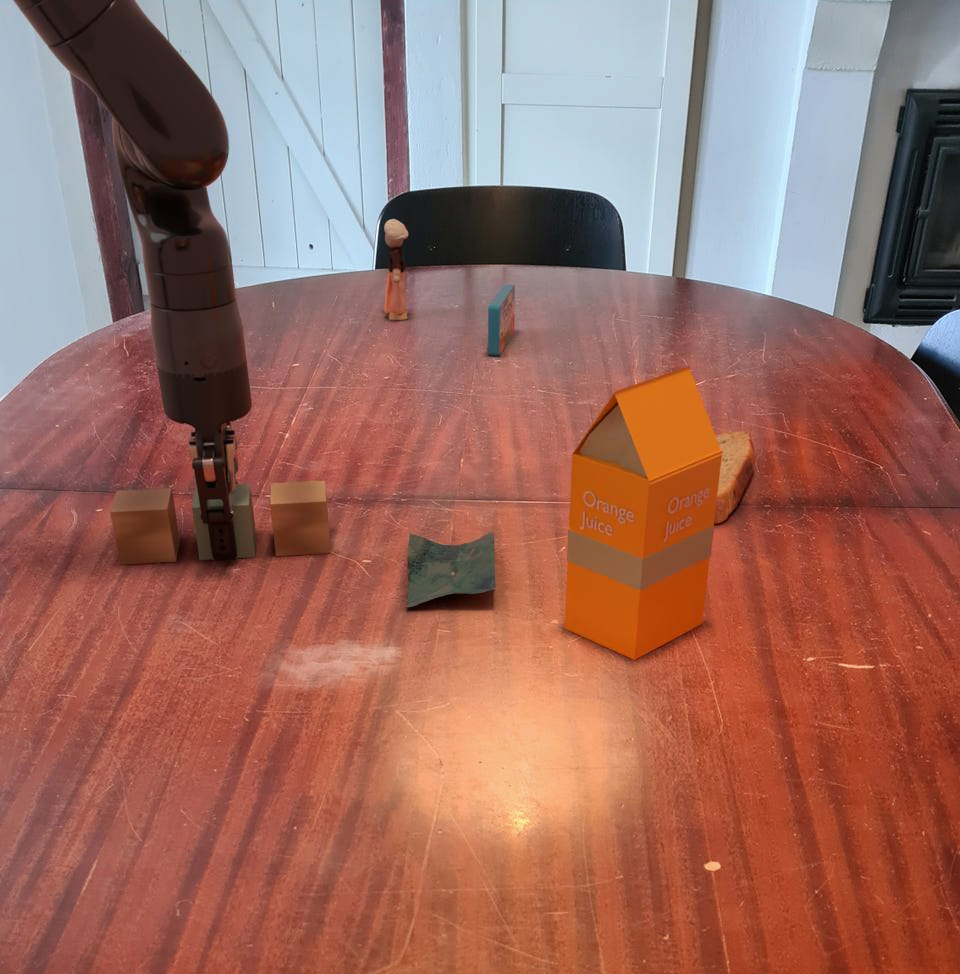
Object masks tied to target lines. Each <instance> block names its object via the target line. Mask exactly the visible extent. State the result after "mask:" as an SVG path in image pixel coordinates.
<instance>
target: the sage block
mask: <svg viewBox="0 0 960 974" xmlns="http://www.w3.org/2000/svg"><path fill="white" fill-rule="evenodd" d="M251 488H252V487H251V484H250V483H240V484H239V483H238V484H236V492H235V493H234V494H232V508H233V511H234V514H235V517H233V523H234V531H235V538H236V546H237V558H236V559H247V558H256V547H257V529H256V522H255V513H254V504H253V497H252V489H251ZM192 498H193V499H192V505H191V512H192V519H193V525H194V532H195V538H196V545H197V551H198V558H199V561H210V560H212V561H213V560H214V559H213V557H212V551H211V544H210V537H209V530H208V524H203V520H201V508H200V502H199V496H198V492H197V491H196V486H195V487H194V493H193V497H192ZM209 502H210V508H223V501H222V500H220V499H213V500H209Z"/></svg>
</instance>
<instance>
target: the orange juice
mask: <svg viewBox="0 0 960 974" xmlns="http://www.w3.org/2000/svg"><path fill="white" fill-rule="evenodd" d="M690 367H691V365H687V366H685V367H682V368H679V369H676V370H673V371H670V372H667V373H665V374H662V375H658V376H656V377H653V378H650V379H647V380H644V381H642V382H638V383H635V384H633V385H630V386H627V387H624V388H621V389H618V390H615V391H614V392H613V394H612V395H611V397H610V398H609V400H608V401H607V403H606V404H605V406H604V407H603V409H602V410H601V412H600V413H599V415H597V417H596V418H595V420H594V422H593V423H592V425H591V426H590V427H589V429H588V431H586V433H585V435H584V436H583V438H582V439H581V441H580V442H579V444H577V446H576V448H575V449H574V451H573V452H572V454H571V471H570V472H571V473H570V491H569V492H570V495H569V517H568V519H569V520H568V522H569V523H568V529H567V546H566V561H567V564H566V586H565V587H566V589H565V608H564V609H565V612H564V629H566V630H568V631H569V632H571V633H574V634H576V635H578V636H580V637H583V638H585V639H587V640H589V641H592V642H594V643H596V644H598V645H601V646H603V647H604V648H607V649H609V650H611V651H614V652H616V653H617V654H620V655H622V656H625V657H627V658H629V659H631V660H634V661H636V660H637V659H639V658H641V657H643V656H644V655H647V654H648V653H650V652H652V651H654V650H656V649H658V648H659V647H661V646H664V645H666V644H667V643H669V642H671V641H673V640H674V639H677V638H678V637H680V636H682V635H684V634H686V633H687V632H690V631H692V630H693V629H696V628H697V627H699V626H701V625H702V624H703V618H704V612H705V611H704V609H705V601H706V594H707V586H708V585H707V584H708V576H709V568H710V562H711V561H710V560H711V559H710V558H711V557H712V548H713V541H714V532H715V524H714V519H715V510H716V502H717V493H718V485H719V477H720V468H721V460H722V455H723V454H722V451H723V450H721V449H720V446H719V444H718V441H717V438H716V436H715V435H716V433H715V431H714V428H713V426H712V422H711V419H710V418H709V414H708V412H707V409H706V407H705V405H704V402H703V398H702V396H701V394H700V392H699V389H698V386H697V384H696V381H695V378H694V376H693V373H692V370H691V368H690Z"/></svg>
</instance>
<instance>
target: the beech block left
mask: <svg viewBox="0 0 960 974" xmlns="http://www.w3.org/2000/svg"><path fill="white" fill-rule="evenodd" d="M174 499H175V498H174V493H173V488H172V487H163V488H146V489H145V488H144V489H143V488H142V489H125V490H124V489H123V490H122V489H121V490H116V491H115V494H114V497H113V499H112V500H113V501H112V504H111V508H110V511H109V515H110V520H111V525H112V529H113V530H112V531H113V536H114V540H115V545H116V550H117V551H116V552H117V555H118V561H119V565H120V566H121V565H139V564H158V563H174V562H175V563H176V562H177V558H178V553H179V547H180V541H181V537H180V531H179V524H178V518H177V512H176V505H175V500H174Z"/></svg>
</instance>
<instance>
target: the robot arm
mask: <svg viewBox="0 0 960 974" xmlns="http://www.w3.org/2000/svg"><path fill="white" fill-rule="evenodd" d="M12 1H13V3H14V4H15V5H16V6H17V8H18V9H19V11H20V12H21V14H22V15H23V16H24V17H25V18H26V20H27V21H28V23H29V24H30V25H31V26H32V28H33V29H34V30H35V32H36V33H37V35H38V36H39V37H40V39H41V40H42V41H43V43H44V44H45V45H47V48H48V49H49V50H50V52H51V53H52V54H53V55H54V57H55V58H56V59H57V60H58V62H59V63H60V64H61V65H62V66H63V67H64V68H65V69H66V70H67V71H68V73H70V74H71V75H72V76H74V77H75V78H76V79H77V80H79V81H81V82H82V83H83V84H84V85H86V86H87V87H88V88H89V89H90V90H91V92H93V93H94V95H95V96H96V97H97V98H98V100H99V101H100V102H101V104H102V105H103V106H104V107H105V109H106V111H108V113H109V114H110V116H111V117H112V120H111V130H112V142H113V149H114V154H115V159H116V164H117V167H118V172H119V175H120V178H121V181H122V185H123V188H124V192H125V195H126V199H127V202H128V205H129V208H130V212H131V215H132V219H133V221H134V223H135V227H136V230H137V233H138V236H139V239H140V243H141V244H140V245H141V251H142V261H143V268H144V274H145V281H146V287H147V294H148V300H149V309H150V331H151V339H152V345H153V351H154V352H153V353H154V359H155V364H156V371H157V376H158V382H159V390H160V394H161V401H162V407H163V412H164V414H165V416H166V417H167V418H168V419H169V420H171V421H172V422H175V423H177V424H181V425H184V424H185V425H187V426H190V427H192V428H193V429H194V430H190V431H189V433H190V434H189V435H190V440H188V443H187V444H188V445H187V446H188V454H189V459H190V460H191V461H192V462H191V468H192V470H193V476H194V484H195V485H194V486H195V487H196V491H197V492H198V496H199V502H200V508H201V520H203V524H208V530H209V537H210V544H211V551H212V557H213V559H212V560H214V561H216V562H231V561H236V559H238V558H237V546H236V538H235V531H234V523H233V517H235V514H234V511H233V508H232V494H234V493H235V492H236V485H239V483H238V478H237V477H236V475H237V472H239V458H238V452H237V450H238V436H237V430H236V428H232V422H236V421H238V420H240V419H242V418H244V417H246V416H247V415H248V414H249V413H250V412H251V409H252V406H253V402H252V394H251V393H252V392H251V386H250V377H249V369H248V368H249V367H248V359H247V351H246V344H245V343H246V342H245V334H244V326H243V322H242V318H241V314H240V310H239V305H238V301H237V300H238V299H237V293H236V284H235V276H234V269H233V267H234V266H233V260H232V259H233V258H232V253H231V247H230V241H229V238H228V235H227V232H226V230H225V227H224V226H222V224H221V223H220V221H219V220H218V219H217V218H216V215H215V214H214V212H213V210H212V207H211V202H210V197H209V193H208V187H209V186H210V185H212V184H213V183H214V182H216V181H217V180H218V179H219V178H220V176H221V175H222V174H223V172H224V171H225V168H226V165H227V163H228V159H229V155H230V136H229V130H228V127H227V123H226V120H225V118H224V115H223V113H222V111H221V109H220V107H219V105H218V103H217V102H216V100H215V98H214V97H213V95H212V94H211V92H210V91H209V89H208V88H207V86H206V85H205V84H204V82H203V81H202V80H201V78H200V77H199V75H198V74H197V73H196V72H195V70H193V68H192V67H191V66H190V64H189V63H188V62H187V60H185V58H184V57H183V56H182V55H181V54H180V52H179V51H178V50H177V48H175V47H174V46H173V44H172V43H171V42H170V40H168V38H167V37H166V36H165V35H164V34H163V33H162V32H161V30H160V29H158V28H157V26H156V25H155V24H154V23H153V22H152V21H151V20H150V18H149V17H148V16H147V15H146V13H145V12H144V11H143V9H142V8H141V7H140V5H139V3H138V2H137V1H136V0H12ZM213 499H220V500H222V501H223V508H210V502H209V500H213Z"/></svg>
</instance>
